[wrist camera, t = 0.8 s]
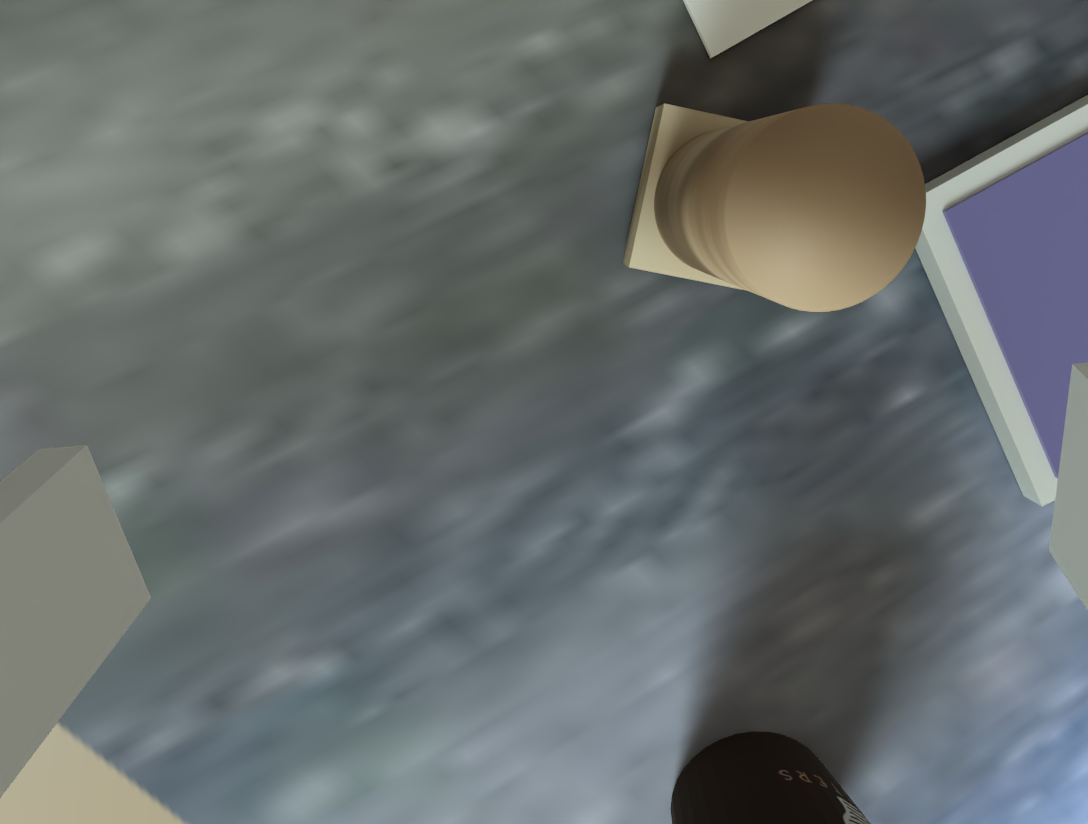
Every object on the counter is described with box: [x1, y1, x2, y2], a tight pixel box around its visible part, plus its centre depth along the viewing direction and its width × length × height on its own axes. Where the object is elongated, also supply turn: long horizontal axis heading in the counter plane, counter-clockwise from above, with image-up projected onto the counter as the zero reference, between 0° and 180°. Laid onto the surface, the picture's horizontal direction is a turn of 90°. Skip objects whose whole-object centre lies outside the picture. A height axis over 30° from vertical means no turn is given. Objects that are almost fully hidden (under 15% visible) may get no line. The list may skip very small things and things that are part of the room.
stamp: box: [623, 103, 926, 312], centre depth 25 cm, size 5×5×11 cm
